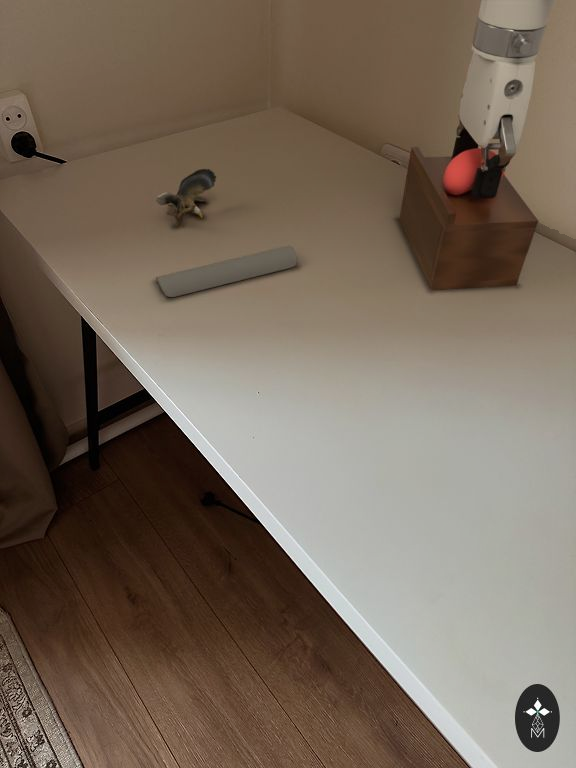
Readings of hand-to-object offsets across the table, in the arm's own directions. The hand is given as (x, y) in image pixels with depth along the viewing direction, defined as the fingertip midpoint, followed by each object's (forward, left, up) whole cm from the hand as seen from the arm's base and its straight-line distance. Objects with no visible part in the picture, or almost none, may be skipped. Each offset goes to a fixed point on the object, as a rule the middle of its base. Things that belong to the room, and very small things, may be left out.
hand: (471, 180), depth 85 cm
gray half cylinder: (+33, +3, -11) cm, 35 cm away
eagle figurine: (+38, -13, -11) cm, 42 cm away
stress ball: (0, 0, -1) cm, 1 cm away
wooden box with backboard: (0, 0, -11) cm, 11 cm away
